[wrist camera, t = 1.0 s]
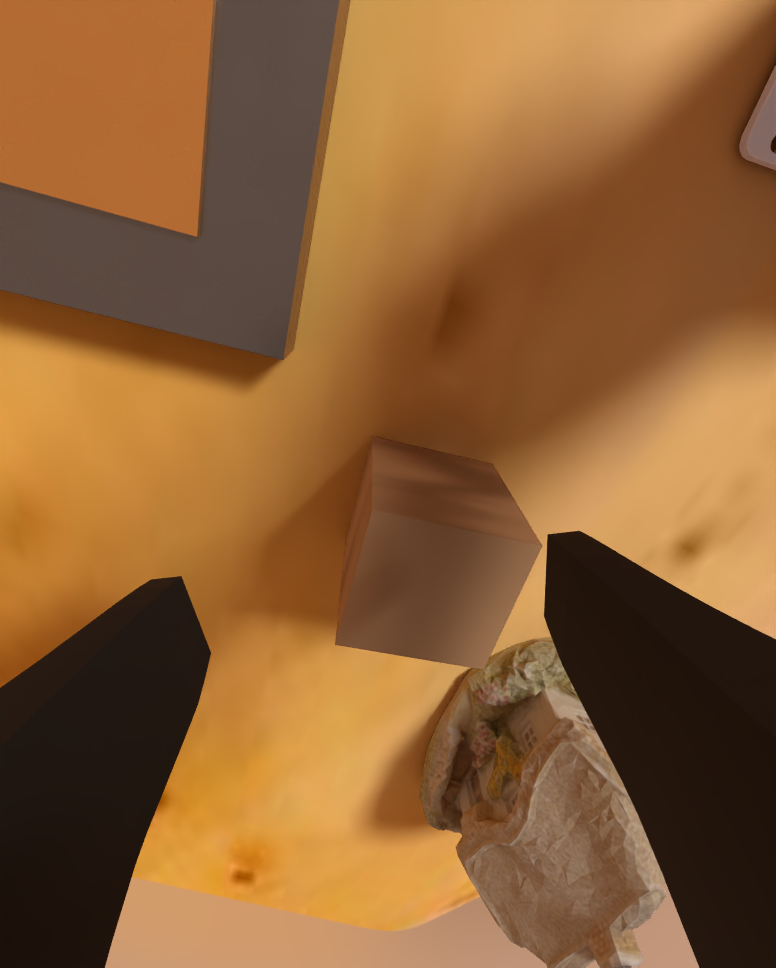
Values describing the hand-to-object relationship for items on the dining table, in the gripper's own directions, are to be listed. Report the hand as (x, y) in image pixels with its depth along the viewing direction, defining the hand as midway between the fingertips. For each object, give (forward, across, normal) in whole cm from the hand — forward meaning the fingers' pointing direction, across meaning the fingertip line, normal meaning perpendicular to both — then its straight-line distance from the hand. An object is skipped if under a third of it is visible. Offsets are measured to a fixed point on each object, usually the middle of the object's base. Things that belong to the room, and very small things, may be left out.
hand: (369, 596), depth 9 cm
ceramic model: (+10, -7, +18) cm, 22 cm away
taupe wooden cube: (+10, -2, +3) cm, 10 cm away
